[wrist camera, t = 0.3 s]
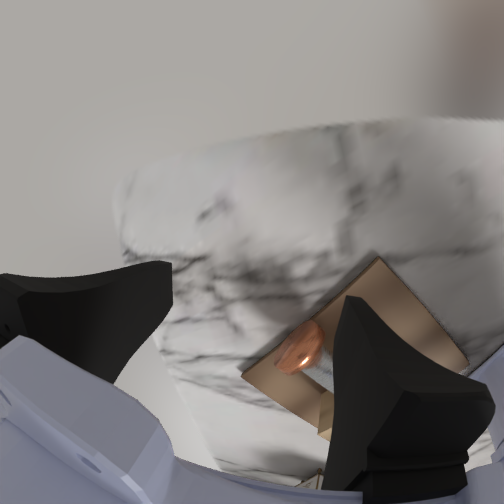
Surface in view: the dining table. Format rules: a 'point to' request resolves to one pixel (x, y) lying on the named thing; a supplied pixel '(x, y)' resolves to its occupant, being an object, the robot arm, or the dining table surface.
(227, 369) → the dining table surface
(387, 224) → the dining table surface
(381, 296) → the block
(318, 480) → the game die
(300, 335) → the pin
